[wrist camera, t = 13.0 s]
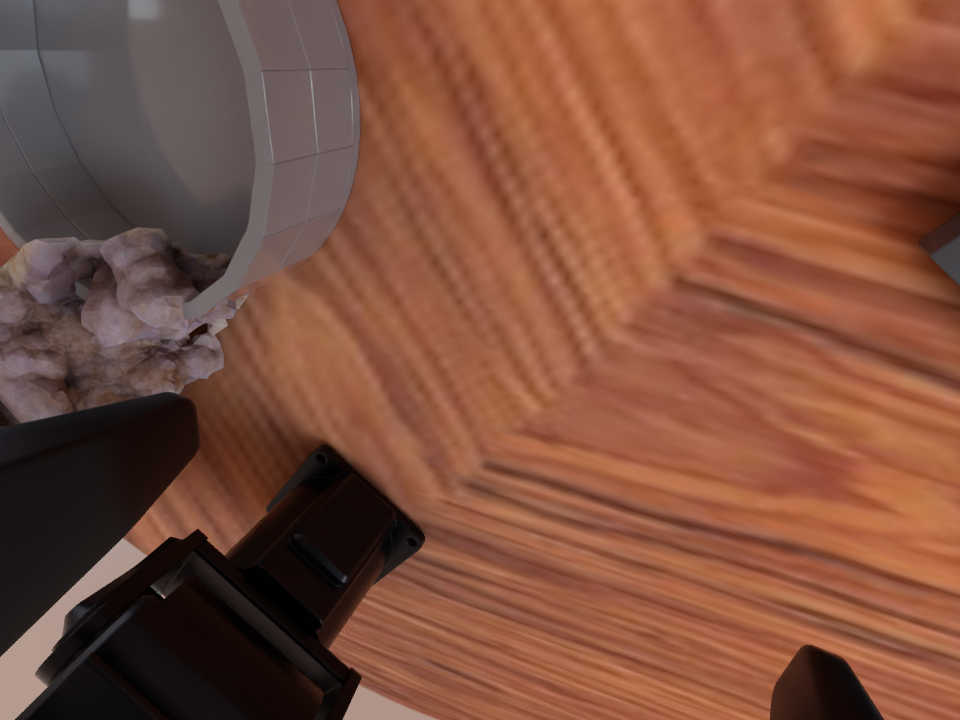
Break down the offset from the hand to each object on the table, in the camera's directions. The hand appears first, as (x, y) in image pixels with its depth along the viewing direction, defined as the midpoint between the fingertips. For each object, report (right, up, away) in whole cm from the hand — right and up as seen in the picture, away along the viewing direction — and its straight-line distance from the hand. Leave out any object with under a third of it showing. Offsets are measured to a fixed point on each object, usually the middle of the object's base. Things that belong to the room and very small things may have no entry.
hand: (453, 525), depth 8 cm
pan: (-10, +12, +13) cm, 20 cm away
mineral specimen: (-16, +3, +20) cm, 26 cm away
